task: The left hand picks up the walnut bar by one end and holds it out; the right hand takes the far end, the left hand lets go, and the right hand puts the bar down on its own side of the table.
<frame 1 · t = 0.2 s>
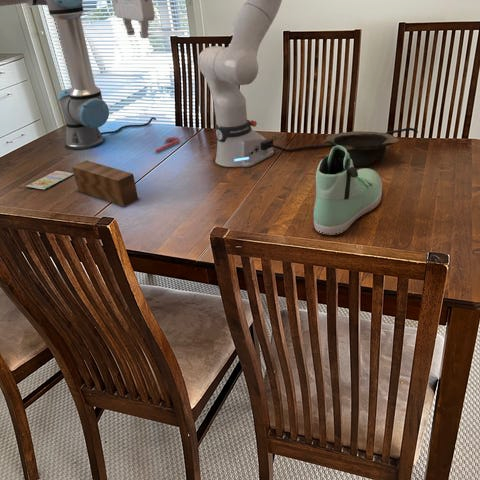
right hand: (137, 36, 137), 47 cm above the table, tool pointing down, fingers open, 8 cm apart
sneaker: (348, 208, 139), on the table
baking ingredient package: (50, 180, 172), on the table
bar: (107, 195, 158), on the table
candy cane: (166, 146, 194), on the table
stone bowl: (359, 157, 171), on the table
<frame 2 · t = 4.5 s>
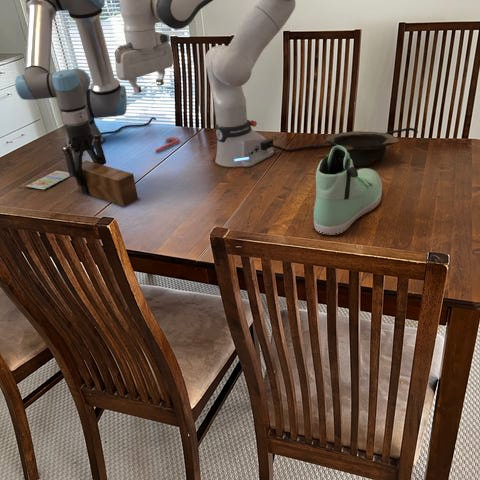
left hand: (93, 189, 162), 0 cm above the table, tool pointing down, fingers closed on bar, 6 cm apart
right hand: (149, 88, 146), 32 cm above the table, tool pointing down, fingers open, 8 cm apart
bar: (107, 195, 158), on the table, touching left hand
everything else where it was.
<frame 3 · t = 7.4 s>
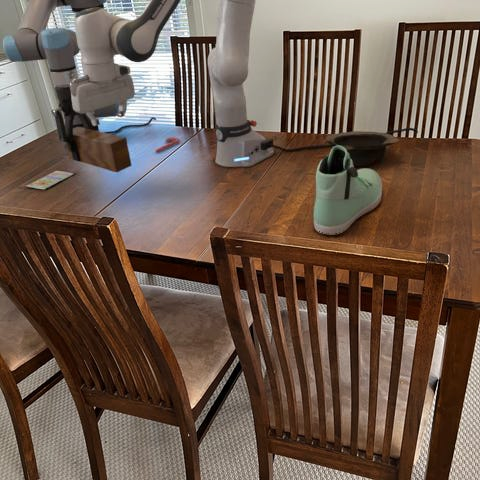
left hand: (85, 156, 156), 12 cm above the table, tool pointing down, fingers closed on bar, 6 cm apart
right hand: (108, 120, 142), 26 cm above the table, tool pointing down, fingers open, 8 cm apart
bar: (99, 162, 152), point 12 cm above the table, touching left hand
everything else where it was.
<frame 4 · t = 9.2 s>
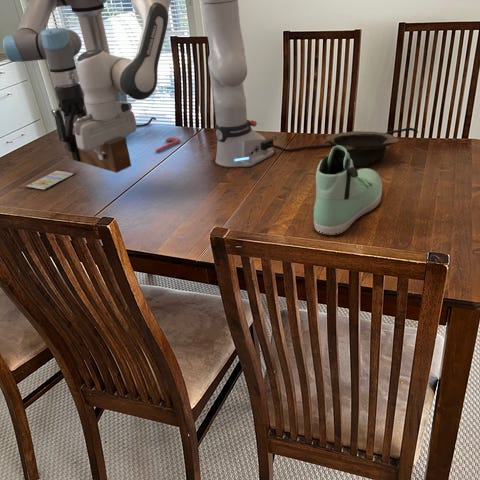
left hand: (85, 156, 156), 12 cm above the table, tool pointing down, fingers closed on bar, 6 cm apart
right hand: (112, 155, 146), 15 cm above the table, tool pointing down, fingers closed on bar, 6 cm apart
bar: (99, 162, 152), point 12 cm above the table, touching left hand, right hand
everything else where it was.
when the left hand's fingers open (12 cm above the table, at t = 10.2 s): bar stays where it is, held by the right hand.
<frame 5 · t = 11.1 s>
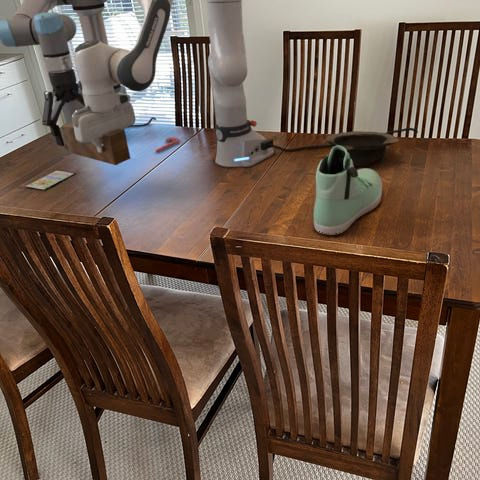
left hand: (78, 138, 154), 18 cm above the table, tool pointing down, fingers open, 13 cm apart
right hand: (111, 147, 145), 18 cm above the table, tool pointing down, fingers closed on bar, 6 cm apart
bar: (98, 155, 151), point 14 cm above the table, touching right hand
everything else where it was.
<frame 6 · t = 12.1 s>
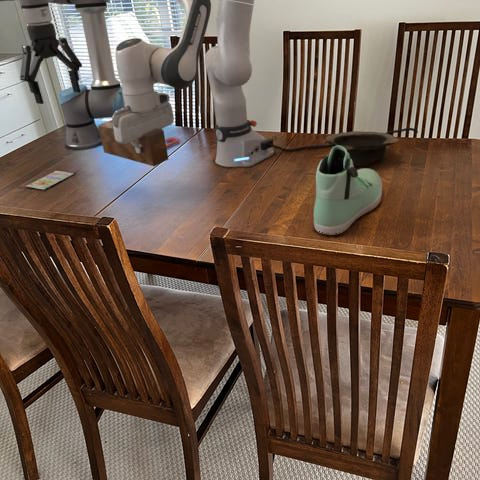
left hand: (59, 97, 150), 31 cm above the table, tool pointing down, fingers open, 13 cm apart
right hand: (149, 148, 142), 18 cm above the table, tool pointing down, fingers closed on bar, 6 cm apart
bar: (135, 155, 148), point 14 cm above the table, touching right hand
everything else where it was.
when the right hand's fingers open (5 cm above the table, at t = 15.3 s): bar stays where it is, on the table.
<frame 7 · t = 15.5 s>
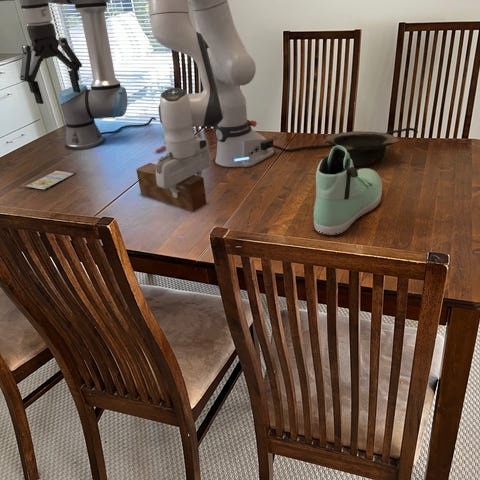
left hand: (59, 97, 150), 31 cm above the table, tool pointing down, fingers open, 13 cm apart
right hand: (187, 190, 146), 5 cm above the table, tool pointing down, fingers open, 8 cm apart
bar: (172, 199, 152), on the table
everything else where it was.
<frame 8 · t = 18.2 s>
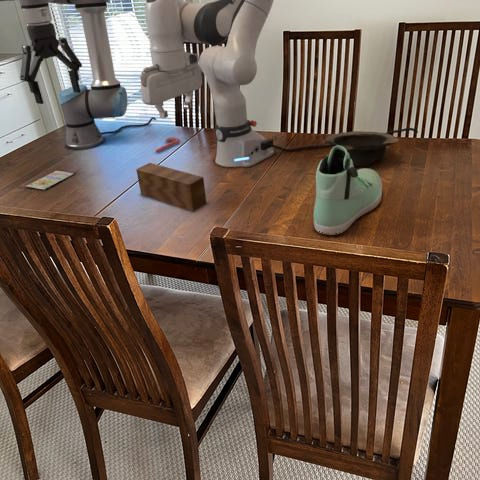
left hand: (59, 97, 150), 31 cm above the table, tool pointing down, fingers open, 13 cm apart
right hand: (176, 112, 134), 29 cm above the table, tool pointing down, fingers open, 8 cm apart
nothing on the table moved.
at the end: bar inside the target area (7.1 cm from its centre), on the table; the left hand is holding nothing; the right hand is holding nothing; bar at rest at the end (0.0 cm/s) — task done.
